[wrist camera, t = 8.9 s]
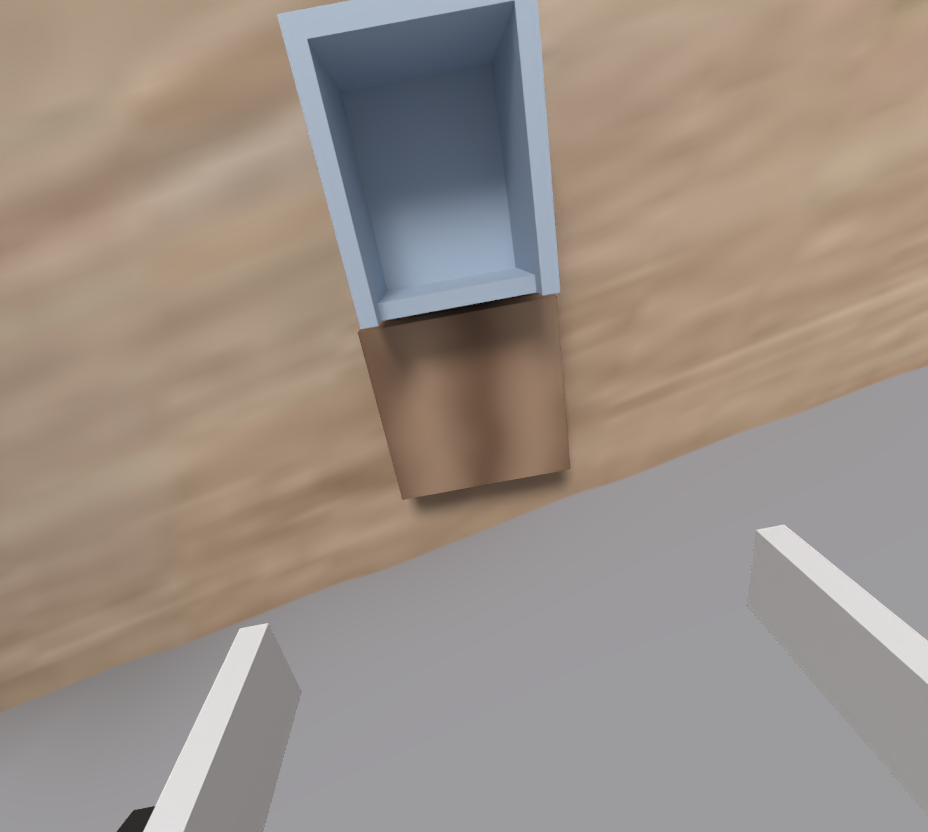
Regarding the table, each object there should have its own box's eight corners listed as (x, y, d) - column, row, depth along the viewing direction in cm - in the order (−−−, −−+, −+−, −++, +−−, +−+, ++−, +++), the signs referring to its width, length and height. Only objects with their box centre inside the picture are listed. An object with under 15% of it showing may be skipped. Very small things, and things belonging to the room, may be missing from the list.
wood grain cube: (404, 477, 30) (402, 499, 28) (365, 323, 26) (357, 332, 23) (558, 449, 30) (570, 469, 28) (544, 290, 26) (556, 296, 23)
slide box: (378, 305, 26) (360, 329, 19) (323, 81, 21) (277, 14, 15) (527, 278, 26) (560, 292, 19) (503, 47, 21) (534, -35, 15)
